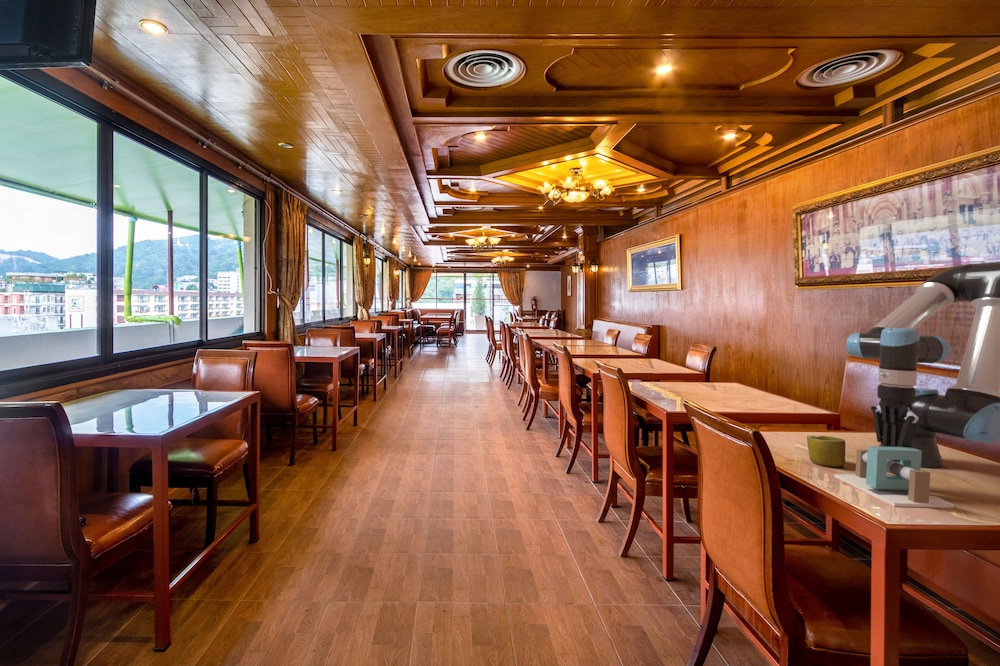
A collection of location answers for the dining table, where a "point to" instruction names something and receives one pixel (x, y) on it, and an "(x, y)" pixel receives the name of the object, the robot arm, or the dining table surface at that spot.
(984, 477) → the dining table surface
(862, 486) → the pipe rail
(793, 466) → the dining table surface
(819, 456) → the mug
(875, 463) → the collar
